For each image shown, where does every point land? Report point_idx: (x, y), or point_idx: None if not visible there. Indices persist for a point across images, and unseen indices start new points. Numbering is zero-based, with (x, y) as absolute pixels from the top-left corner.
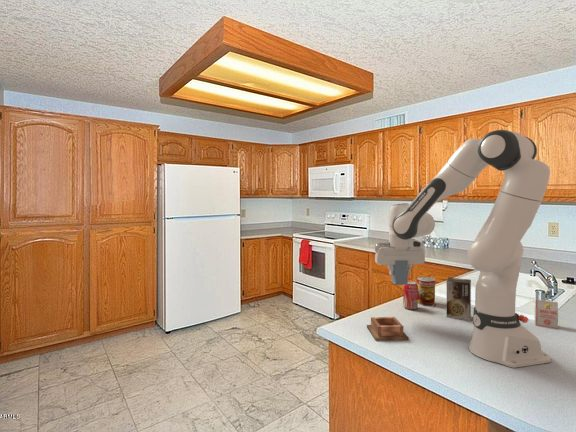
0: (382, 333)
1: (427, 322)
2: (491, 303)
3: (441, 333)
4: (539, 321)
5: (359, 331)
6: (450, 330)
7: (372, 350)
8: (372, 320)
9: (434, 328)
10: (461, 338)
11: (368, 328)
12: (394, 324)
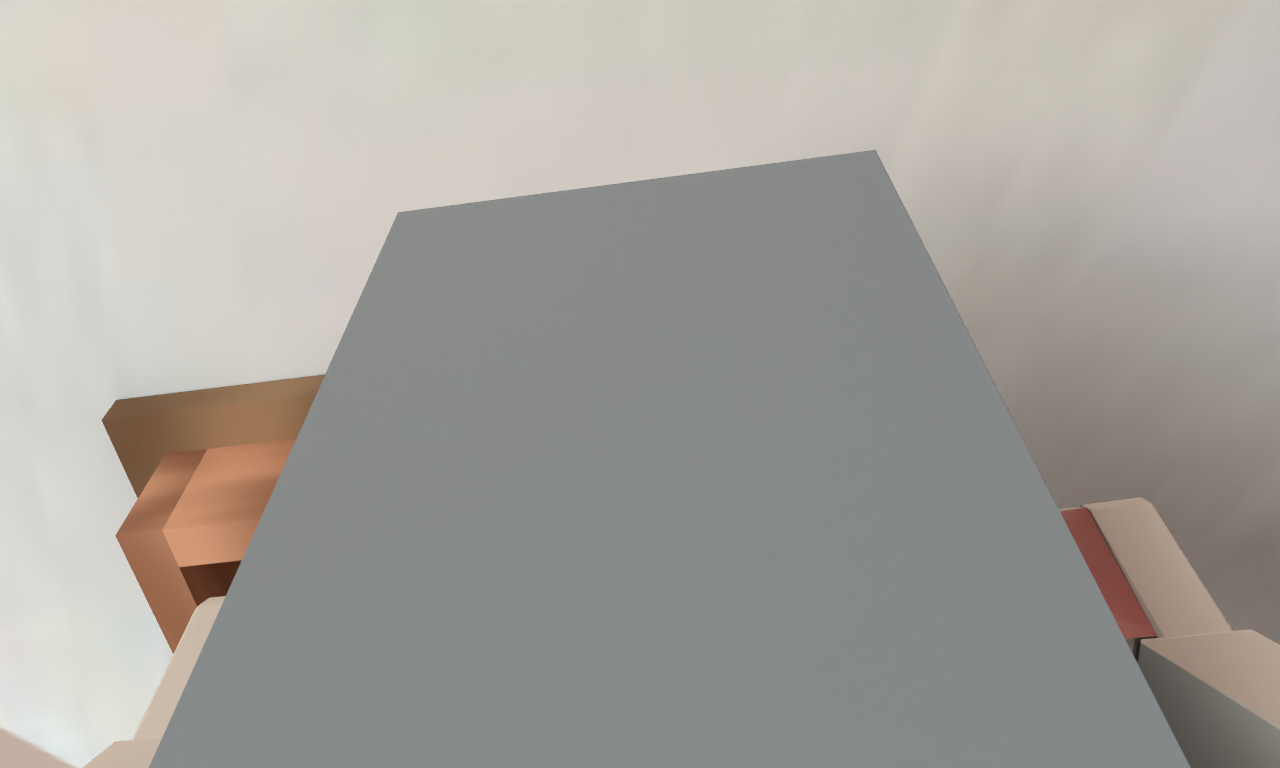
0: None
1: (1087, 151)
2: None
3: (1078, 496)
4: None
5: (40, 520)
6: (1258, 406)
7: None
8: (153, 590)
9: (1072, 362)
10: (1235, 595)
11: (142, 486)
12: None
